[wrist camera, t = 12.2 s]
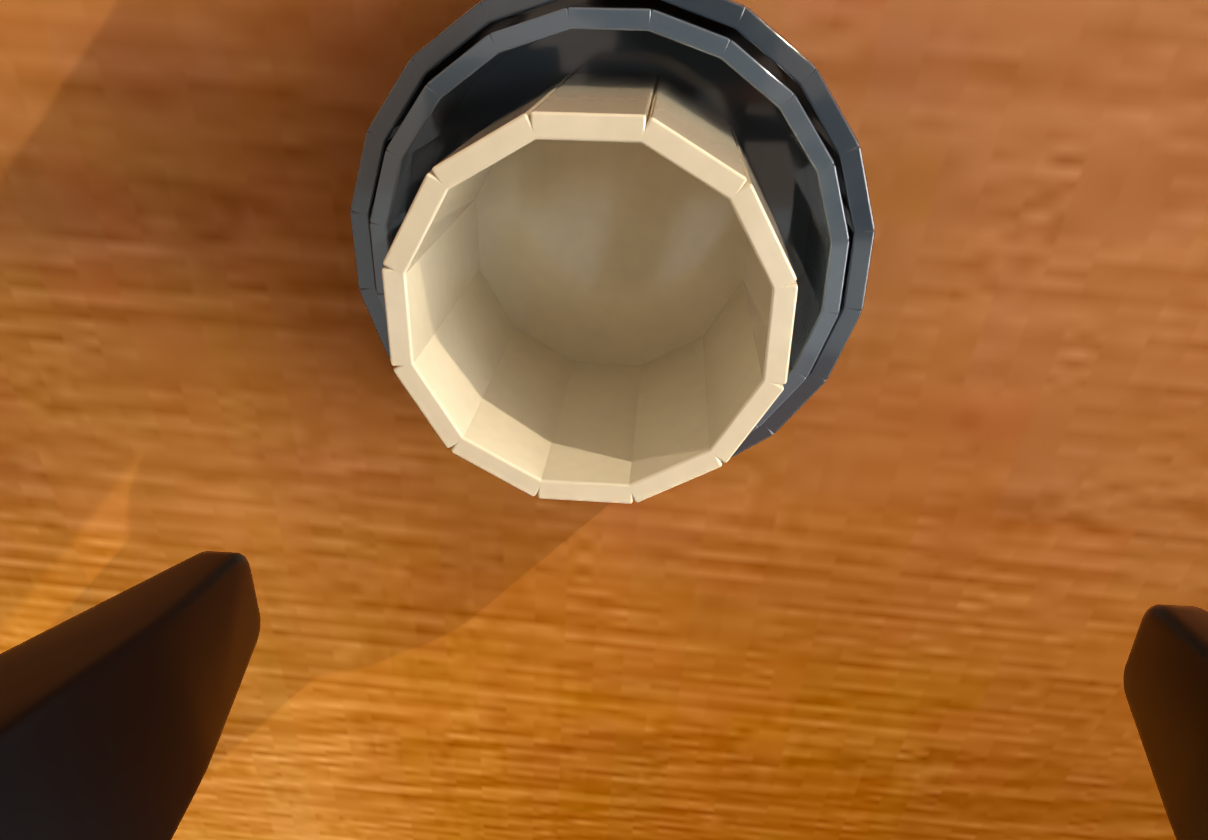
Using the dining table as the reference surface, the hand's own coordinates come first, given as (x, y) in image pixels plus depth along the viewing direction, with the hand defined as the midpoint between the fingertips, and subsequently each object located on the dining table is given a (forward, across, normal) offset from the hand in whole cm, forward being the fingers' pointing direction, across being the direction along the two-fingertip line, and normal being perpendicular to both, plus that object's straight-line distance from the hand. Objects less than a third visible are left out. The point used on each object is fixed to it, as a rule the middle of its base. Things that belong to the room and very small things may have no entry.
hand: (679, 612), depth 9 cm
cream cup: (+12, +2, -1) cm, 12 cm away
